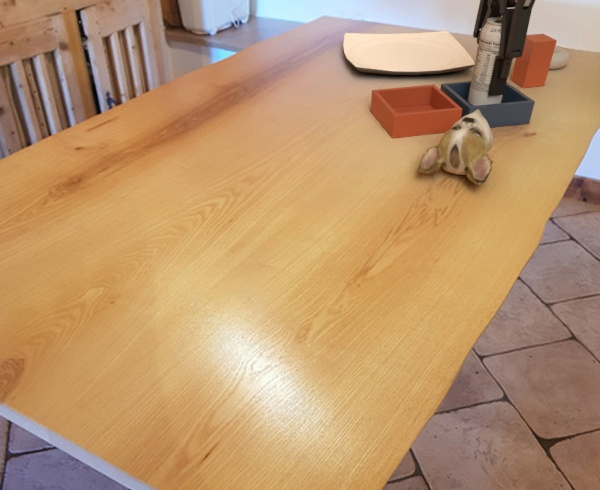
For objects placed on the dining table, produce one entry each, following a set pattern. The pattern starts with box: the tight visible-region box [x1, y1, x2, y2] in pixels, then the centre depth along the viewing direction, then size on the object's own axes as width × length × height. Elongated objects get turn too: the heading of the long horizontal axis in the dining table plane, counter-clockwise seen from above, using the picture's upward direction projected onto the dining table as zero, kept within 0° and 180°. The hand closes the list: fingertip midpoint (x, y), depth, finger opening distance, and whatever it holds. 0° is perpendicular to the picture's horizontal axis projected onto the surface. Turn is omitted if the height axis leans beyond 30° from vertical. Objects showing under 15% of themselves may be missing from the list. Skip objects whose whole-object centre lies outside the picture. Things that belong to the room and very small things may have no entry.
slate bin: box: [439, 80, 536, 129], centre depth 103 cm, size 13×13×4 cm
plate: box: [342, 30, 475, 76], centre depth 129 cm, size 29×29×3 cm
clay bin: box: [370, 83, 462, 139], centre depth 101 cm, size 13×13×4 cm
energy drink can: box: [468, 16, 503, 106], centre depth 99 cm, size 6×6×15 cm
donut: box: [549, 44, 571, 70], centre depth 125 cm, size 10×4×10 cm
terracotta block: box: [510, 33, 558, 89], centre depth 114 cm, size 5×5×9 cm
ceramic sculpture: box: [417, 109, 495, 186], centre depth 85 cm, size 11×9×15 cm
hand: (487, 87), depth 102 cm, fingers closed on energy drink can, 6 cm apart
